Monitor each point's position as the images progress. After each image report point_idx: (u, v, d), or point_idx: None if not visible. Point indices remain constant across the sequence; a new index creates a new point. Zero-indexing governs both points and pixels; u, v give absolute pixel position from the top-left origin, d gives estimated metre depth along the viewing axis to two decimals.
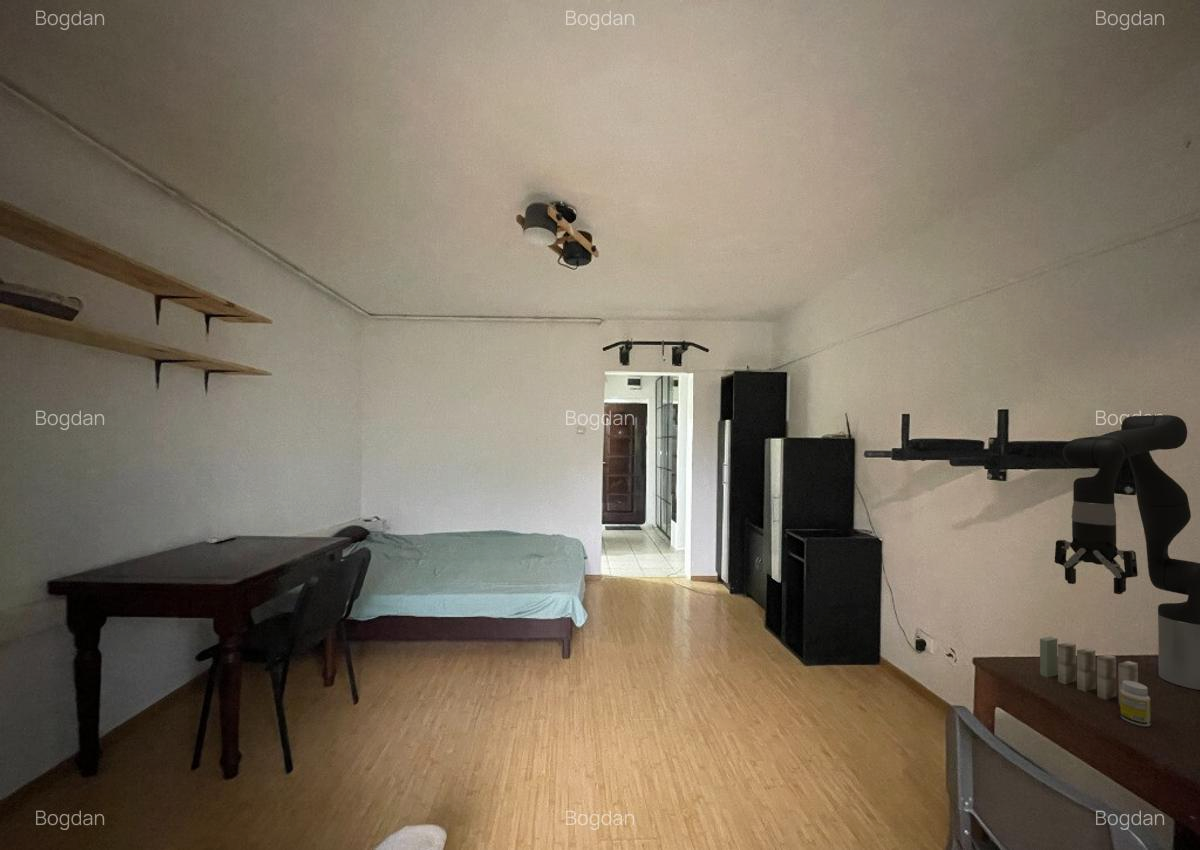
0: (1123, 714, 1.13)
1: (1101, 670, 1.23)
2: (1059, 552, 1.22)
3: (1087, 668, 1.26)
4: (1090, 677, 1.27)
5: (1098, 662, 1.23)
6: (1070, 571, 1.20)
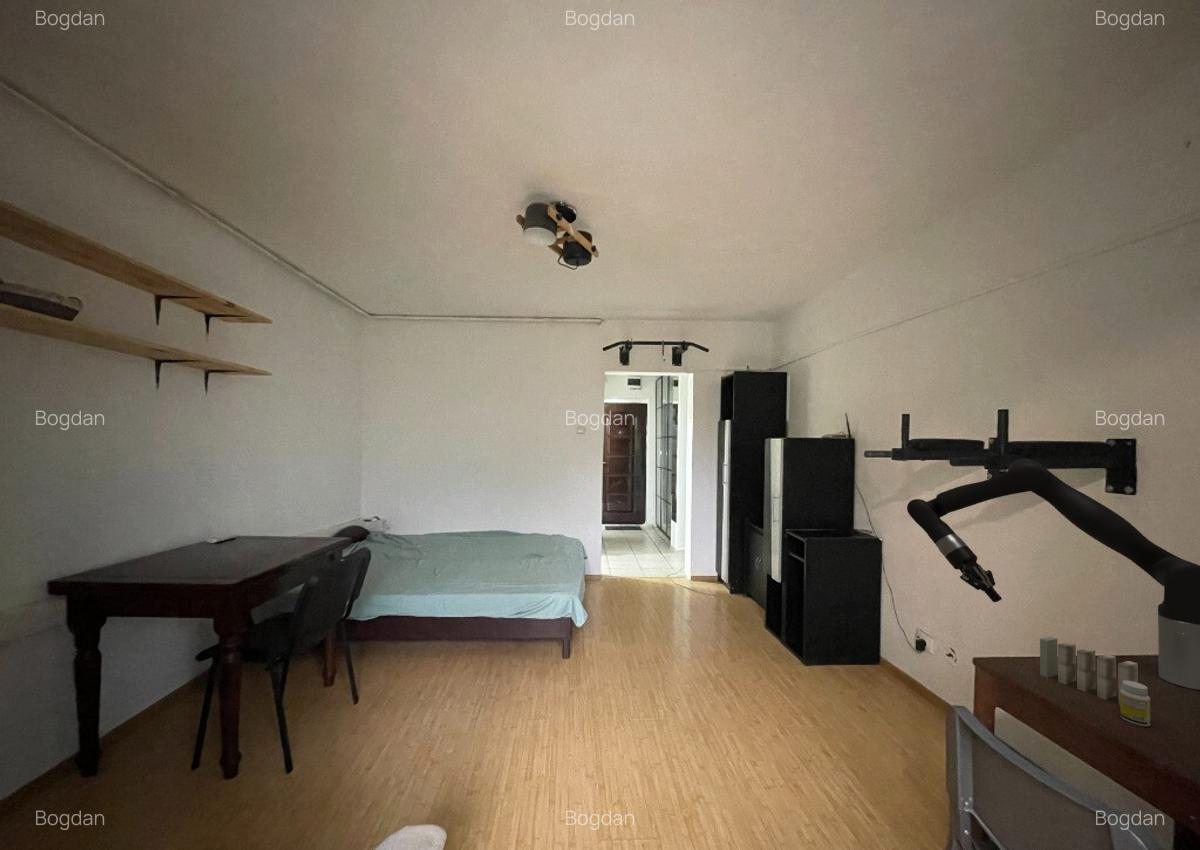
0: (1123, 714, 1.13)
1: (1101, 670, 1.23)
2: None
3: (1087, 668, 1.26)
4: (1090, 677, 1.27)
5: (1098, 662, 1.23)
6: None
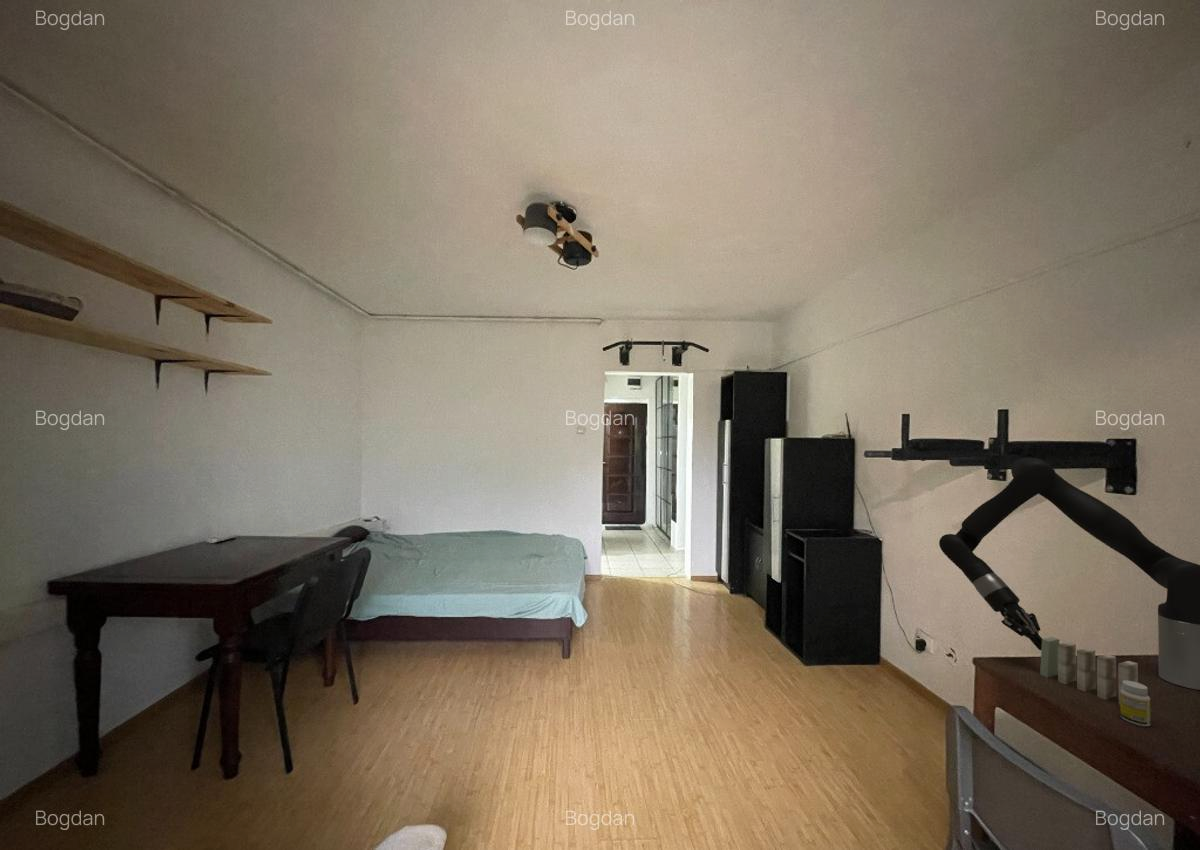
0: (1123, 714, 1.13)
1: (1101, 670, 1.23)
2: None
3: (1087, 668, 1.26)
4: (1090, 677, 1.27)
5: (1098, 662, 1.23)
6: None
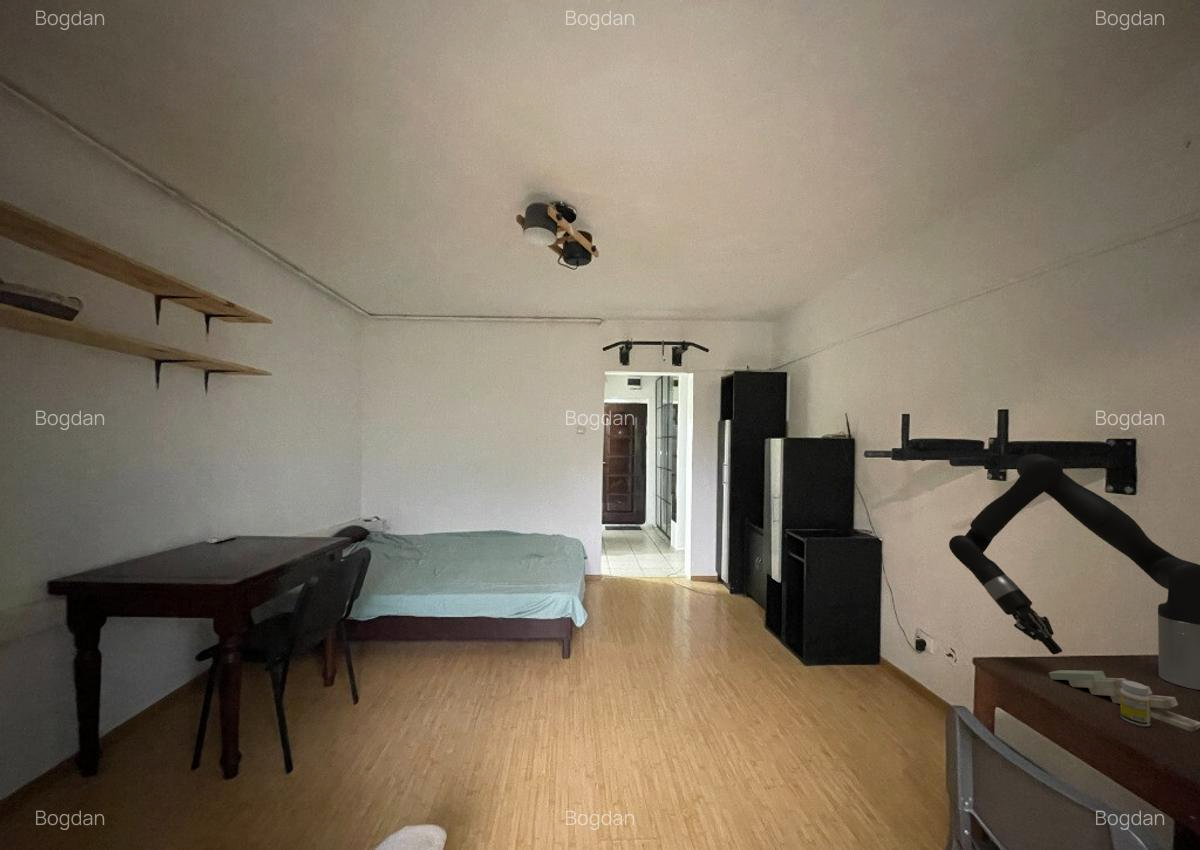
0: (1123, 714, 1.13)
1: None
2: None
3: None
4: None
5: (1157, 701, 1.13)
6: None
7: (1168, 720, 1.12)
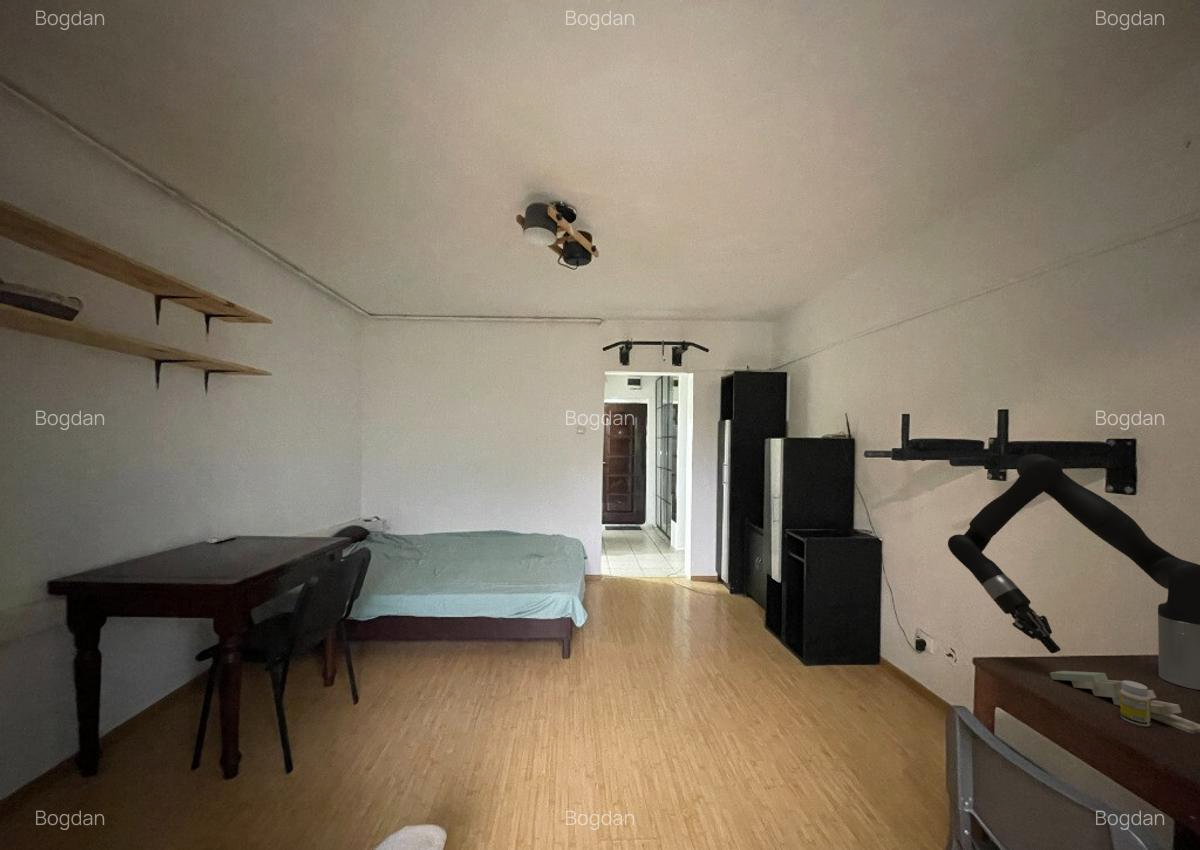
0: (1123, 714, 1.13)
1: None
2: None
3: None
4: None
5: (1154, 706, 1.12)
6: None
7: (1170, 723, 1.11)
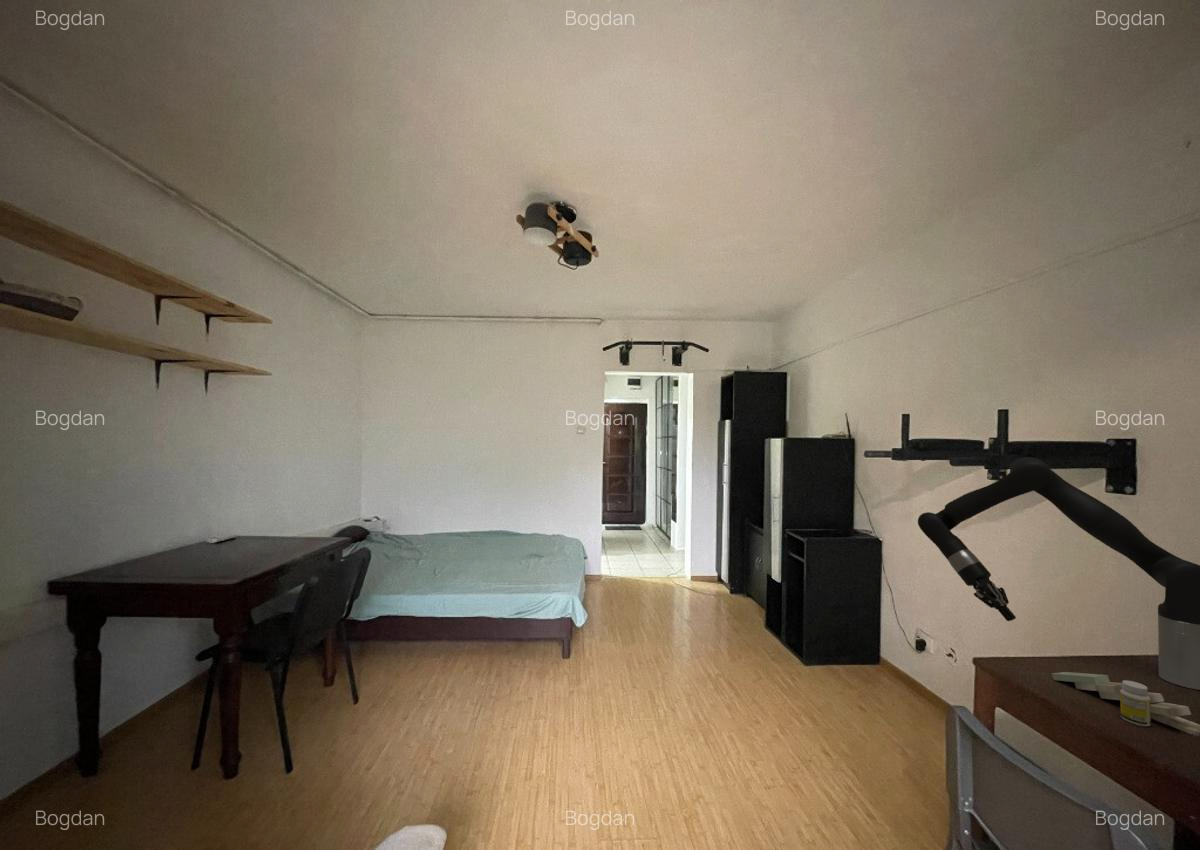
0: (1123, 714, 1.13)
1: (1154, 710, 1.11)
2: None
3: None
4: None
5: (1162, 708, 1.10)
6: None
7: (1175, 725, 1.10)
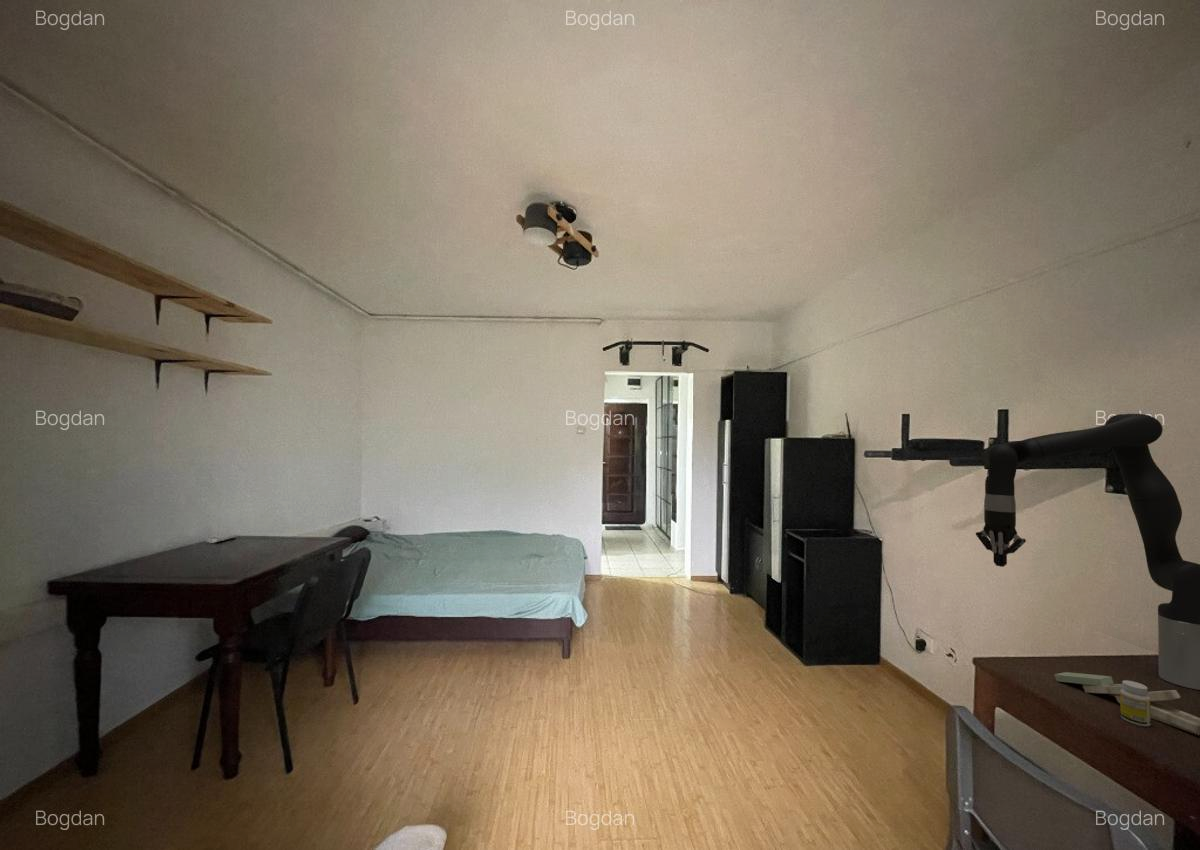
0: (1123, 714, 1.13)
1: (1178, 722, 1.09)
2: (983, 540, 1.52)
3: (1150, 700, 1.15)
4: None
5: (1189, 723, 1.07)
6: (997, 555, 1.48)
7: None
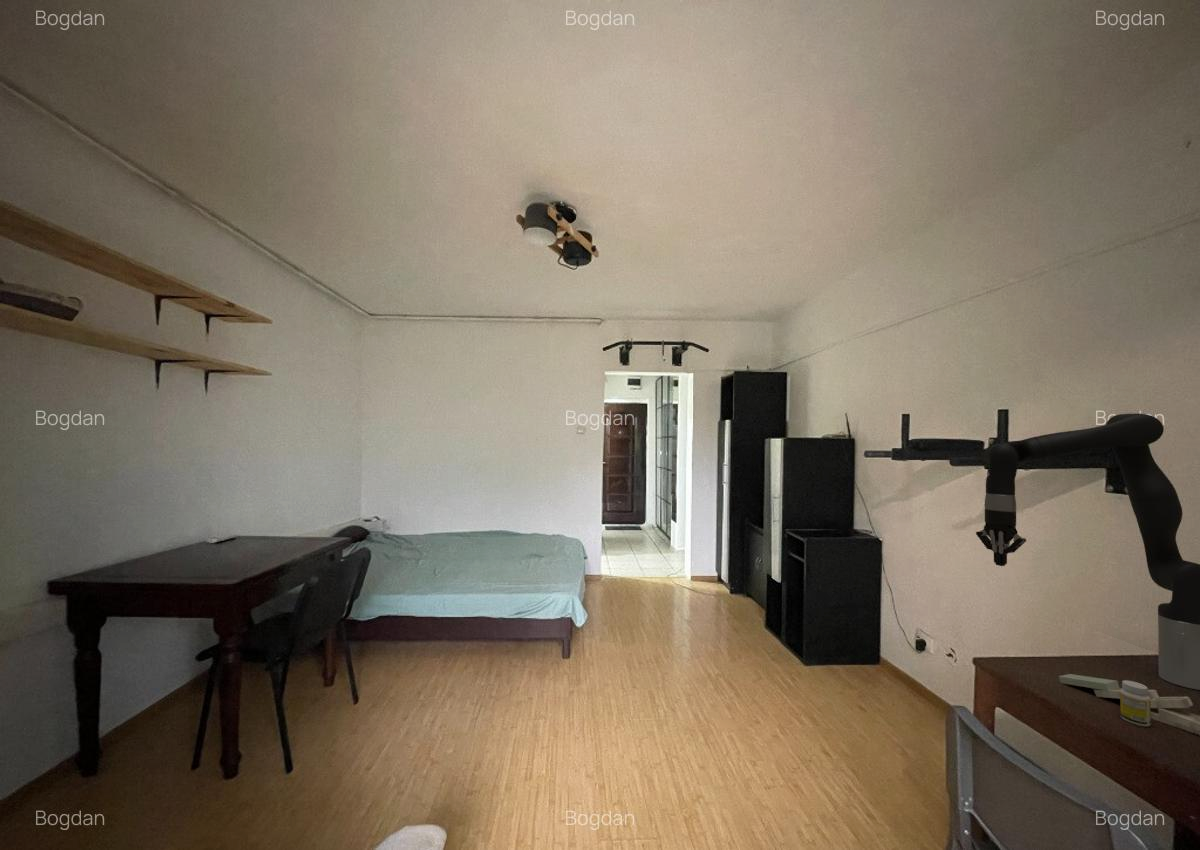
0: (1123, 714, 1.13)
1: None
2: (983, 540, 1.52)
3: None
4: None
5: None
6: (997, 555, 1.48)
7: (1185, 726, 1.09)
